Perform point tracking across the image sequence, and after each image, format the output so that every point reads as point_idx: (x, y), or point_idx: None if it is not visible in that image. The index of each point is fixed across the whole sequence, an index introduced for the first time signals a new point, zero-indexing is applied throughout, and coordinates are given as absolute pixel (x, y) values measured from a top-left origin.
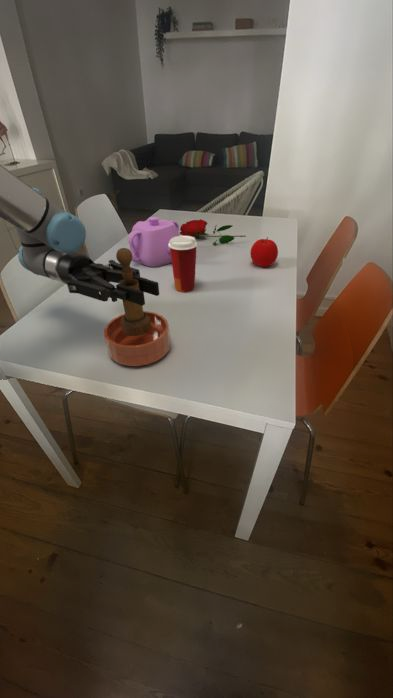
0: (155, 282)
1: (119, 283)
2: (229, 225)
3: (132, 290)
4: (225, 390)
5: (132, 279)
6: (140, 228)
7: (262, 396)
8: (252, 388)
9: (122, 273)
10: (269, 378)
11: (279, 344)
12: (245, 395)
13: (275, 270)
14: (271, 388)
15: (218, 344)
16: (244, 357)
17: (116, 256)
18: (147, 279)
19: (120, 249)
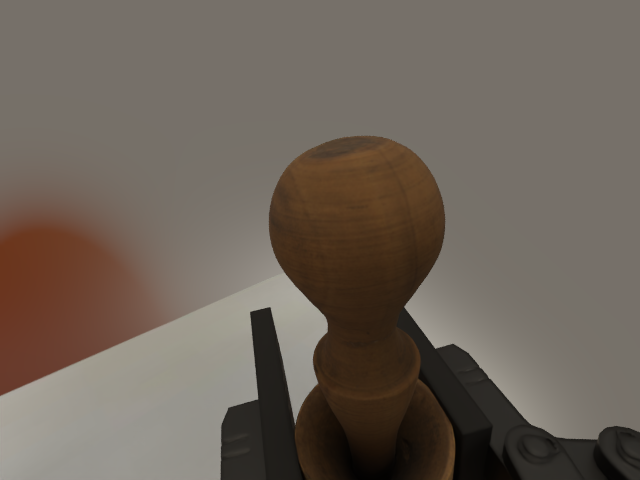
0: (258, 318)
1: (448, 465)
2: None
3: (407, 312)
4: (312, 330)
5: (312, 471)
6: None
7: (281, 299)
8: (275, 313)
9: (416, 347)
10: (236, 314)
11: (122, 357)
12: (297, 310)
13: None
14: (256, 302)
15: (182, 442)
16: (202, 369)
17: (443, 215)
18: (257, 364)
19: (381, 140)
